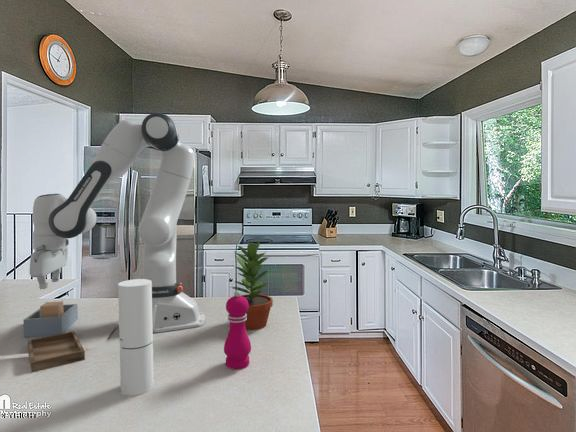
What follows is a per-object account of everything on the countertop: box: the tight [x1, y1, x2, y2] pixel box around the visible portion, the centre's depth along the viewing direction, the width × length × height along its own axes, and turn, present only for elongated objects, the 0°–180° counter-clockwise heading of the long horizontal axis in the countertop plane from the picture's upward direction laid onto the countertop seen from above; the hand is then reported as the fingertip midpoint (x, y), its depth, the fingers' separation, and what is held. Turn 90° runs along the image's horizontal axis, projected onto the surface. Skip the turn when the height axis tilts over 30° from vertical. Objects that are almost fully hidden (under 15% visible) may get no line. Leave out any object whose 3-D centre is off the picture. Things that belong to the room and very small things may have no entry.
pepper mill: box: [223, 290, 252, 370], centre depth 98 cm, size 7×7×20 cm
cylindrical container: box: [117, 278, 155, 397], centre depth 86 cm, size 7×7×25 cm
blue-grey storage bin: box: [23, 303, 79, 338], centre depth 122 cm, size 11×15×6 cm
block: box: [39, 300, 64, 318], centre depth 122 cm, size 5×5×8 cm
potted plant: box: [230, 241, 274, 331], centre depth 127 cm, size 15×15×30 cm
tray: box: [27, 330, 86, 373], centre depth 104 cm, size 18×12×2 cm, turn 38°
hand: (49, 285), depth 121 cm, fingers open, 8 cm apart
